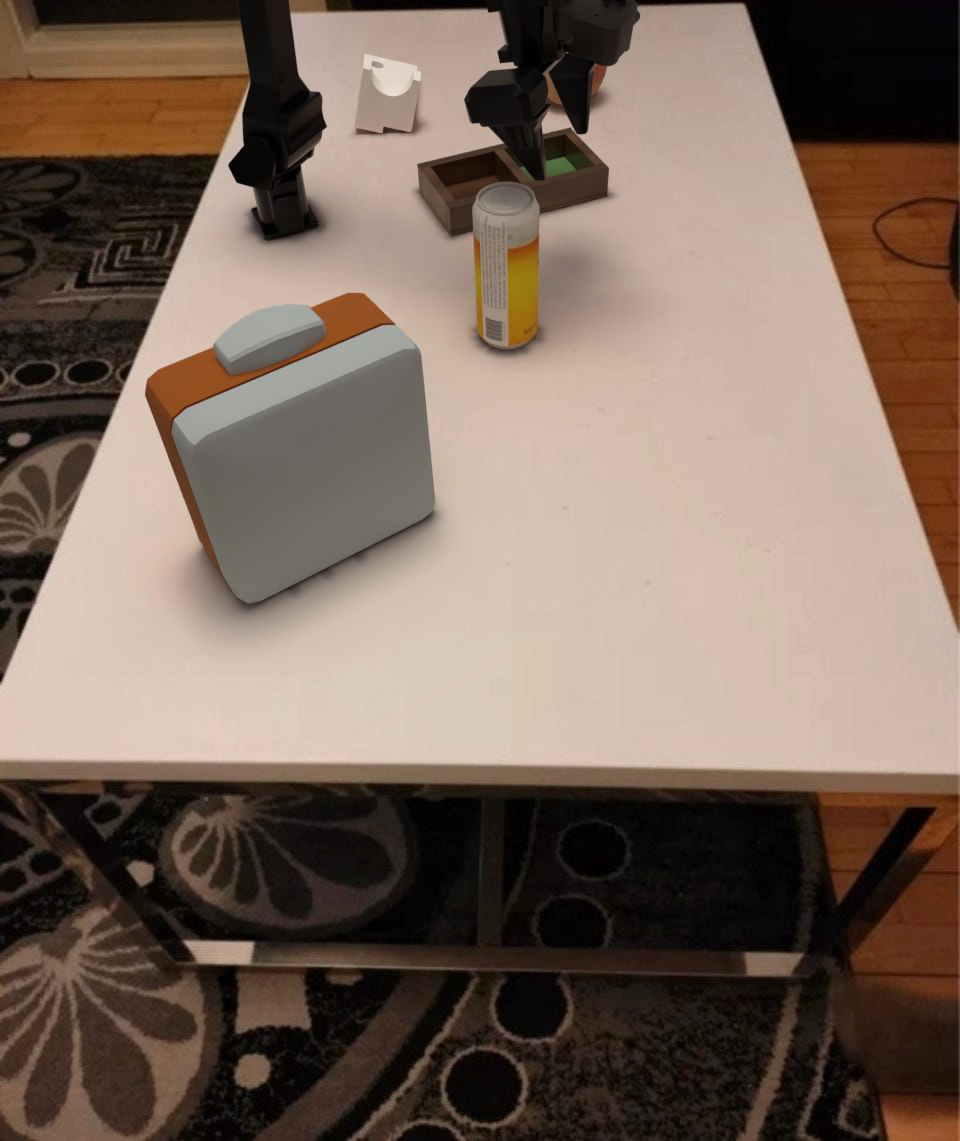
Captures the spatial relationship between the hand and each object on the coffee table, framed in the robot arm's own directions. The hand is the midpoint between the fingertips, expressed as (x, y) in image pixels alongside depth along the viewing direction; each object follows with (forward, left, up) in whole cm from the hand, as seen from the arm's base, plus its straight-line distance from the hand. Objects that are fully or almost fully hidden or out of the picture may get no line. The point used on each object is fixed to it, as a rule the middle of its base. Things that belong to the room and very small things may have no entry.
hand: (562, 156), depth 94 cm
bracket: (-46, -2, -16) cm, 49 cm away
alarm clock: (+22, -32, -16) cm, 42 cm away
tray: (-20, +4, -15) cm, 26 cm away
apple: (-38, +20, -16) cm, 46 cm away
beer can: (+4, -7, -16) cm, 18 cm away
